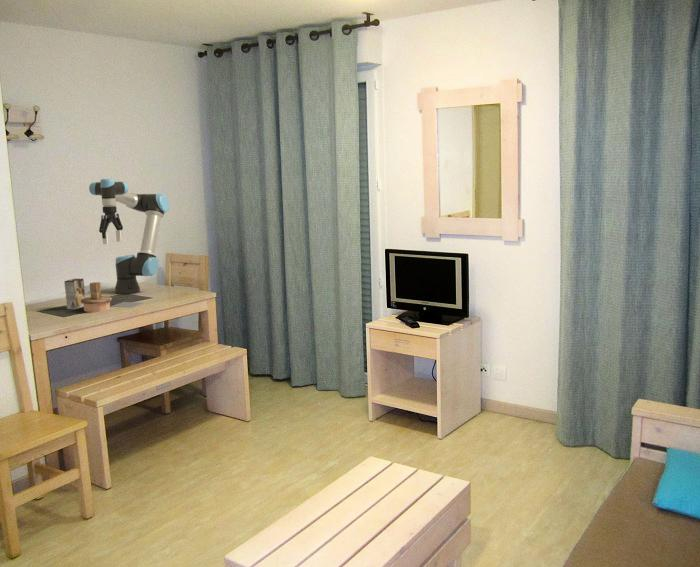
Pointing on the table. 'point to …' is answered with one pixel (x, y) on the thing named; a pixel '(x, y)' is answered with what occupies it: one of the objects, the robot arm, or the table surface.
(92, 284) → the lid
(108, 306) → the bowl
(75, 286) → the coffee box
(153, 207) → the robot arm
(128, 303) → the mat
